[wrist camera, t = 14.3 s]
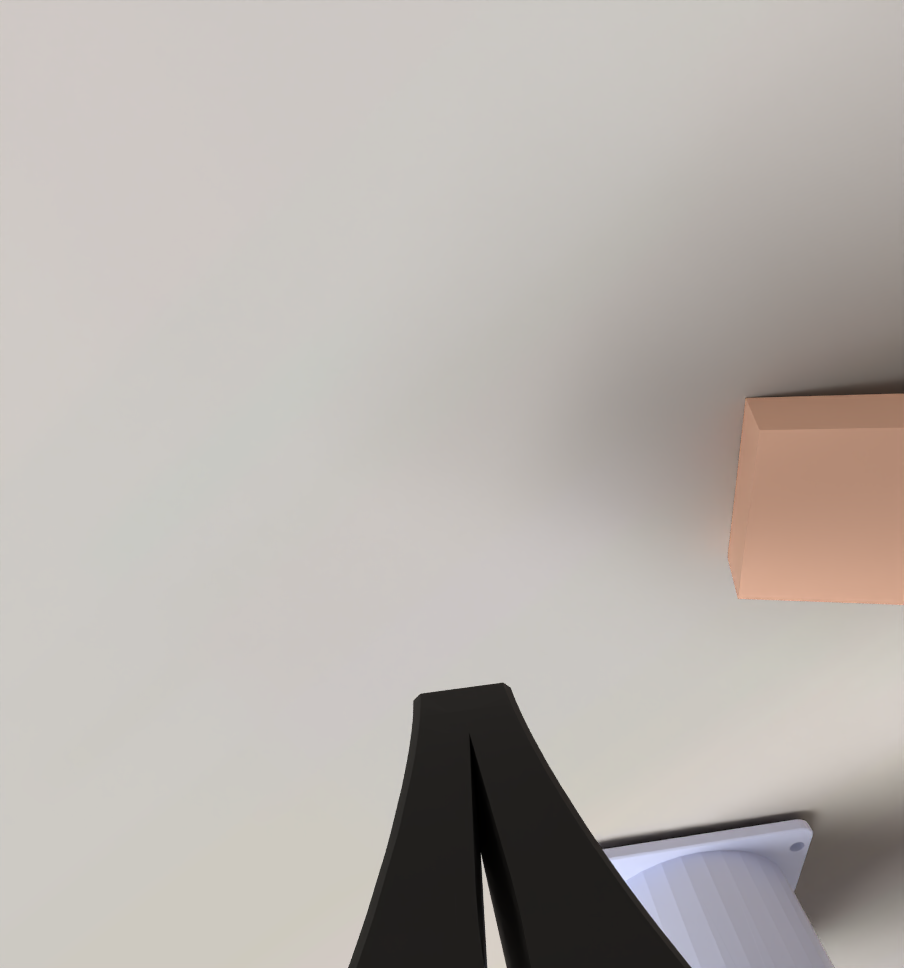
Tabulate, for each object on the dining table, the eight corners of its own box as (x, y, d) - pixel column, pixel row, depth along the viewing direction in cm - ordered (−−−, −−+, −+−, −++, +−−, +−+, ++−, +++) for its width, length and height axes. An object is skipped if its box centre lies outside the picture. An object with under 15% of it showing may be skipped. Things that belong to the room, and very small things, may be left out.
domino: (745, 397, 15) (1091, 388, 13) (727, 557, 17) (1022, 563, 15) (759, 430, 13) (1146, 422, 12) (737, 598, 15) (1061, 610, 14)
